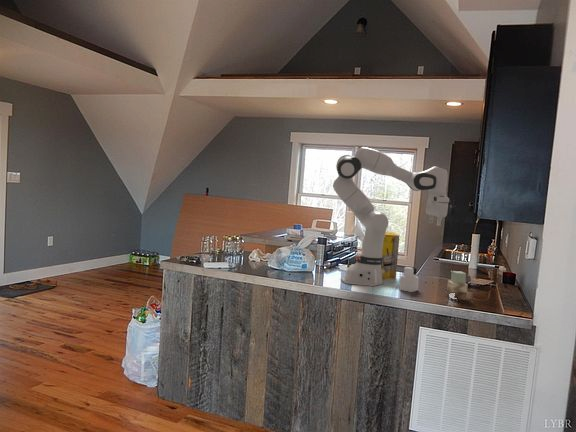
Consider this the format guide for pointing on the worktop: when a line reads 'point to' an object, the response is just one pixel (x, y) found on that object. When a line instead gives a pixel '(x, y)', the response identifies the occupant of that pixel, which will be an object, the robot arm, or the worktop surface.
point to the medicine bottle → (409, 280)
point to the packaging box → (390, 255)
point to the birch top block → (457, 287)
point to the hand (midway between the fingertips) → (434, 224)
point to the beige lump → (457, 294)
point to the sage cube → (458, 277)
